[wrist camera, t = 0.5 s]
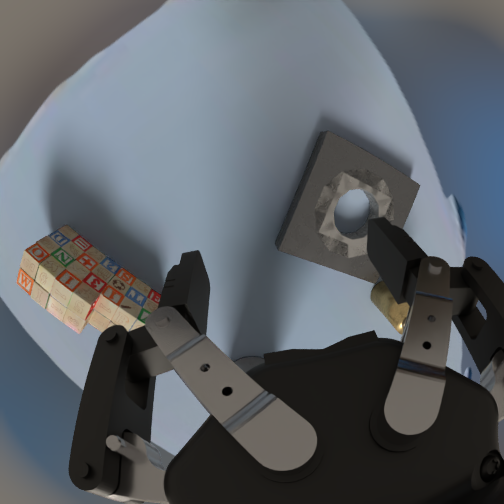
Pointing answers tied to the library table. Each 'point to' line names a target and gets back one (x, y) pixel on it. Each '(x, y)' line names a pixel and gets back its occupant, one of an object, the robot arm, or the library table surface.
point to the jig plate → (325, 200)
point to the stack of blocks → (83, 284)
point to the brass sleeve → (389, 306)
